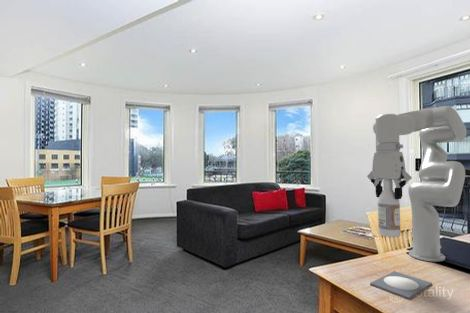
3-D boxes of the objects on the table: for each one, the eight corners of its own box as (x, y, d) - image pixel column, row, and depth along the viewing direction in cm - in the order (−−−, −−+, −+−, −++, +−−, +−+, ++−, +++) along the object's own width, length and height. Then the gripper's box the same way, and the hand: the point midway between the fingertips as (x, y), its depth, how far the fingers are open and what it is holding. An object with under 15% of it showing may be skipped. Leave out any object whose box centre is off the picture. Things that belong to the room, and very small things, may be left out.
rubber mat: (394, 272, 101) (394, 270, 101) (431, 284, 91) (431, 282, 92) (370, 284, 92) (370, 282, 92) (408, 299, 83) (408, 297, 83)
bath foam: (393, 238, 95) (392, 180, 96) (374, 234, 101) (373, 179, 102) (404, 235, 99) (402, 179, 99) (385, 231, 105) (383, 179, 105)
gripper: (418, 147, 95) (419, 199, 95) (370, 149, 110) (371, 194, 110) (407, 147, 91) (408, 201, 91) (359, 149, 106) (360, 196, 106)
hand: (388, 197), depth 100 cm, fingers closed on bath foam, 6 cm apart
